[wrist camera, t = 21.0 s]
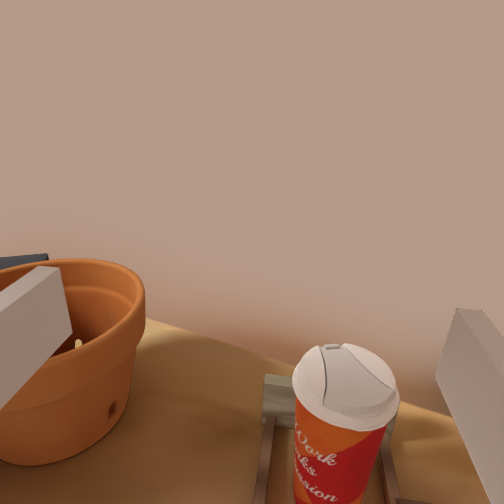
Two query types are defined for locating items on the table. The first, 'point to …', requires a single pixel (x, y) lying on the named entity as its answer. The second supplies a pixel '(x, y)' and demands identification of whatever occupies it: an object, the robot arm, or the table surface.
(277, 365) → the table surface
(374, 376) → the coffee cup
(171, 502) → the table surface
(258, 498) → the channel
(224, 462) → the table surface
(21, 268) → the flower pot
